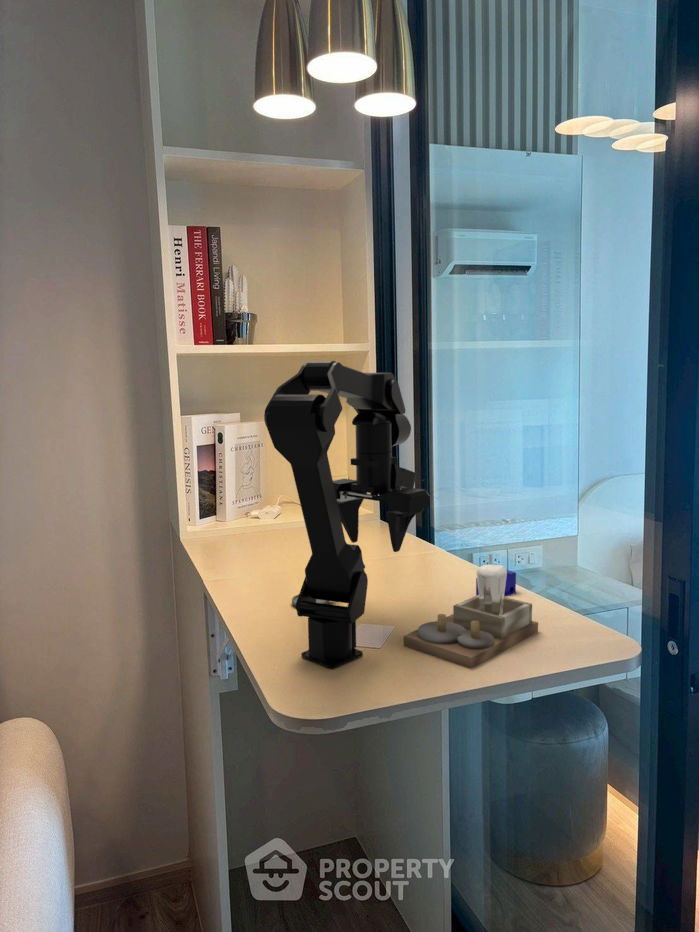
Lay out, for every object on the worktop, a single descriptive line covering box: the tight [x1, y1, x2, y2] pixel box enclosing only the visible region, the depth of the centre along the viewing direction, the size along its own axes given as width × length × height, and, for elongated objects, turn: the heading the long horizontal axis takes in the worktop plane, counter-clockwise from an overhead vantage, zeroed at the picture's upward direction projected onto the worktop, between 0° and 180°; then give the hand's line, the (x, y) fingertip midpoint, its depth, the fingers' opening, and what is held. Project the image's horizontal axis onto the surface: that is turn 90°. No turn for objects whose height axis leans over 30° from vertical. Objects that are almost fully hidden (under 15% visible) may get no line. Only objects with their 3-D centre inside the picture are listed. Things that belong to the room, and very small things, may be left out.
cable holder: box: [475, 569, 517, 597], centre depth 128 cm, size 8×4×4 cm, turn 125°
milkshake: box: [476, 554, 507, 616], centre depth 109 cm, size 4×5×10 cm
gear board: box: [403, 595, 539, 669], centre depth 107 cm, size 18×12×4 cm, turn 136°
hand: (374, 546), depth 115 cm, fingers open, 9 cm apart
